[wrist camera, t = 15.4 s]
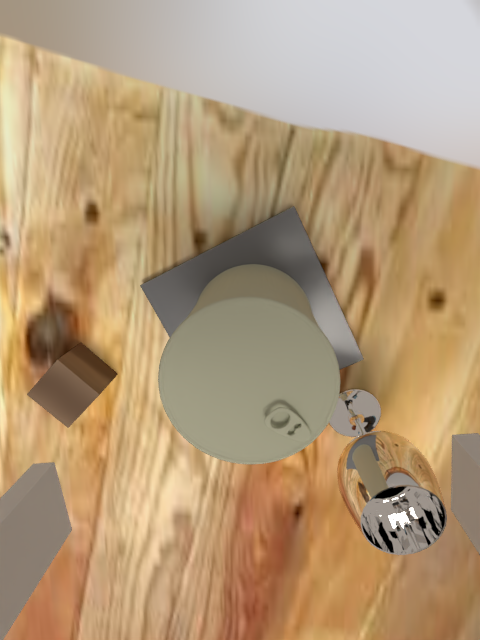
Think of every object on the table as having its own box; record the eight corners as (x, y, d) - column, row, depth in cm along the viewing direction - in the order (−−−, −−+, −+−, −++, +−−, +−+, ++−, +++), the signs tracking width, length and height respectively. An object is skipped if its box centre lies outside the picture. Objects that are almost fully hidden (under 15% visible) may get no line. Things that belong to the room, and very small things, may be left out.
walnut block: (81, 342, 33) (57, 359, 29) (118, 373, 33) (99, 394, 30) (53, 373, 34) (26, 394, 30) (89, 403, 34) (68, 427, 31)
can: (255, 399, 32) (253, 503, 21) (170, 325, 31) (116, 393, 20) (337, 320, 30) (384, 387, 19) (249, 237, 29) (241, 255, 17)
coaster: (293, 206, 29) (294, 206, 28) (361, 355, 32) (363, 359, 31) (143, 283, 31) (140, 285, 30) (219, 417, 34) (218, 421, 33)
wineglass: (317, 441, 34) (345, 559, 22) (321, 380, 33) (355, 473, 21) (384, 444, 34) (448, 565, 22) (392, 382, 32) (465, 478, 21)
